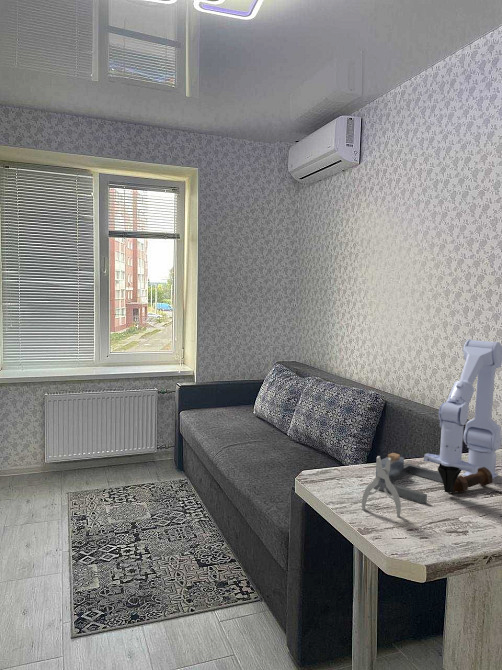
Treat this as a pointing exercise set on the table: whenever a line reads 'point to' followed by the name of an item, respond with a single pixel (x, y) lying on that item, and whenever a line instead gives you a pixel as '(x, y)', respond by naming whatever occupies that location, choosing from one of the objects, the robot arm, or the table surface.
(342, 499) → the table surface
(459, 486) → the bolt
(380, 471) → the pliers
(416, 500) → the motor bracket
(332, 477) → the table surface
